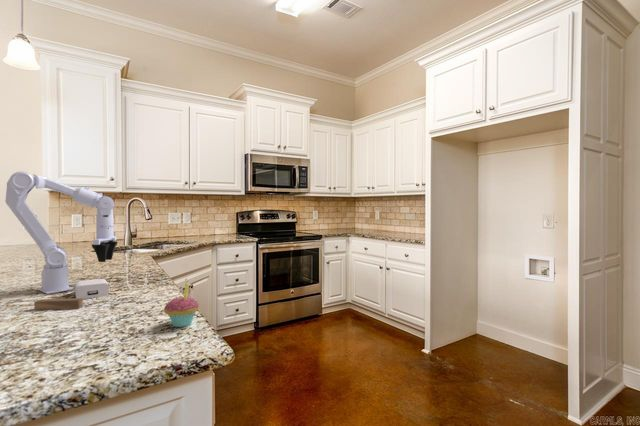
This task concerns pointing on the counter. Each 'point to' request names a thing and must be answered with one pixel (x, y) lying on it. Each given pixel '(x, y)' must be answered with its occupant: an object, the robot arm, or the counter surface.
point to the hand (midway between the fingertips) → (105, 260)
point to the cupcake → (181, 310)
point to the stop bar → (58, 304)
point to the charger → (91, 288)
